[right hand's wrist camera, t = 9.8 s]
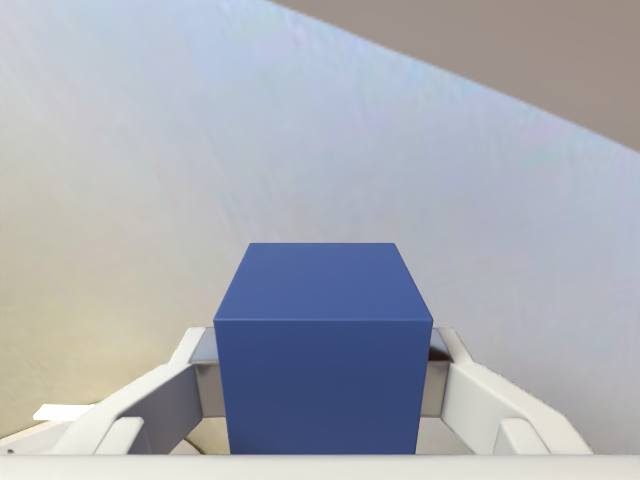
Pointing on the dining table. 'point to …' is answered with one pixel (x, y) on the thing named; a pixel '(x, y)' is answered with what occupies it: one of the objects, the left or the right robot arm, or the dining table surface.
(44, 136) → the dining table surface
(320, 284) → the block
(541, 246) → the dining table surface
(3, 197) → the dining table surface
